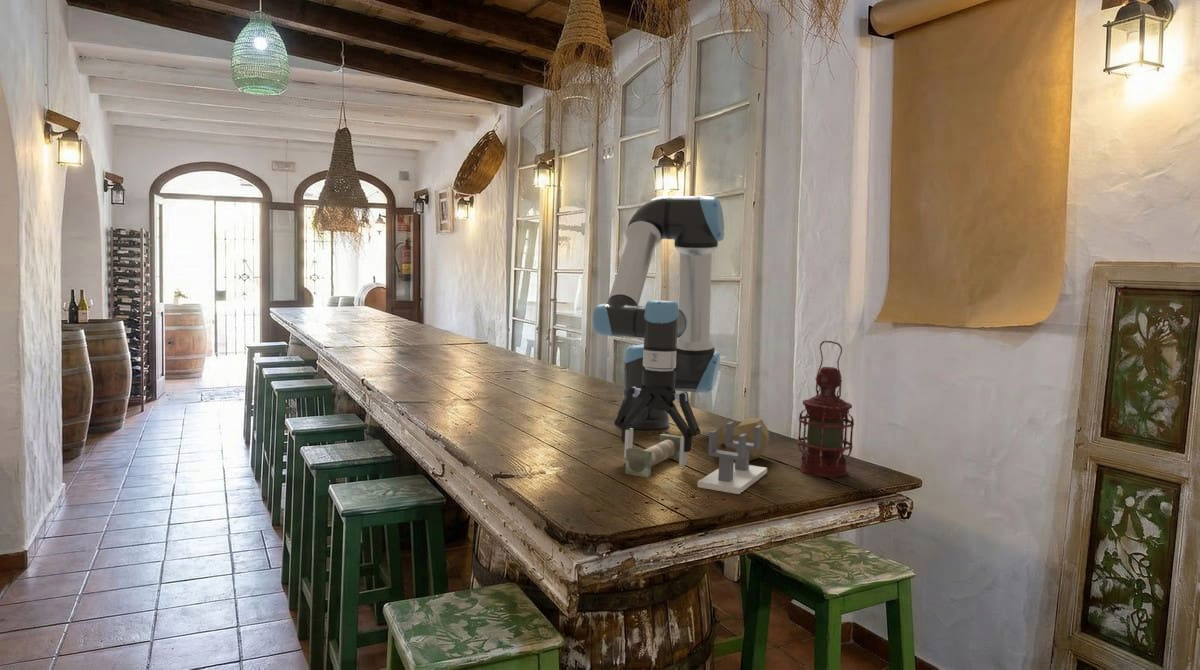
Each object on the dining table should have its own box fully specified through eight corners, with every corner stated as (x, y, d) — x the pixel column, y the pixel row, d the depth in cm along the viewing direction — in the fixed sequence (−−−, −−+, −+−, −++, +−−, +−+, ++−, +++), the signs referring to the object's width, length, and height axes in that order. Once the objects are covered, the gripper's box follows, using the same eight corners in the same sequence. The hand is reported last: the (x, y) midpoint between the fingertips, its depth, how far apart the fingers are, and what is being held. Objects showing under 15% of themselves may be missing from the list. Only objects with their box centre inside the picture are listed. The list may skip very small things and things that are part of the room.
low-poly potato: (770, 455, 198) (732, 428, 203) (786, 423, 192) (747, 396, 197) (738, 482, 188) (700, 453, 193) (754, 449, 182) (714, 420, 187)
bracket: (728, 466, 184) (731, 419, 183) (766, 473, 180) (769, 423, 179) (697, 487, 166) (700, 434, 165) (739, 494, 162) (742, 439, 161)
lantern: (785, 466, 186) (792, 338, 183) (827, 463, 191) (835, 338, 188) (817, 480, 175) (826, 344, 172) (862, 476, 179) (871, 343, 177)
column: (661, 455, 193) (662, 433, 192) (682, 459, 190) (683, 436, 190) (625, 473, 175) (626, 449, 174) (647, 477, 172) (648, 453, 172)
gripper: (602, 365, 183) (599, 456, 185) (705, 375, 171) (700, 472, 173) (617, 362, 190) (613, 450, 191) (717, 372, 178) (712, 465, 180)
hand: (655, 461), depth 182 cm, fingers open, 13 cm apart
